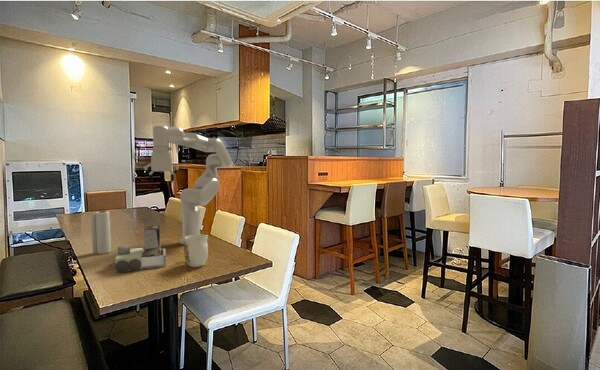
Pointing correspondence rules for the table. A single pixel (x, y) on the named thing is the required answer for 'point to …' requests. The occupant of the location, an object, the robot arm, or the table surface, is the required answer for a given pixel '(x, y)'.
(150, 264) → the grey open drawer
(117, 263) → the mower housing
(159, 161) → the robot arm
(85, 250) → the table surface
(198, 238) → the pitcher
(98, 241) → the grey tall block
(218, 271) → the table surface
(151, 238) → the coffee box
